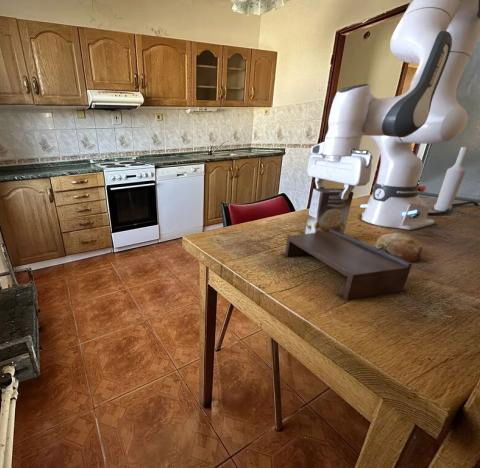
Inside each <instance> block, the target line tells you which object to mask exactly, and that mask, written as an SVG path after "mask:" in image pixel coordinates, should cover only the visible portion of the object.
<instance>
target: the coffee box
mask: <svg viewBox="0 0 480 468" xmlns="http://www.w3.org/2000/svg"><path fill="white" fill-rule="evenodd" d="M344 190H345V188H333V187H332V188H331V187H329V188H327V187H326V188H317V187H314V188H313V190H312V194H311V200H310V204H309V205H310V206H309V211H308V215H307V222H306V226H305V232H304V234H310V233H320V232H329V230H330V229H334V230H336V231H339V232H341V233H343V234H345V230H346V226H347V222H348V217H349V213H350V209H351V206H352V202H353V197H354V191H351V192H350V193H349V196H348V199H345V200H343V199H340V198H339V196H340V195H339V194H340V193H342V192H343V191H344Z"/></svg>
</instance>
